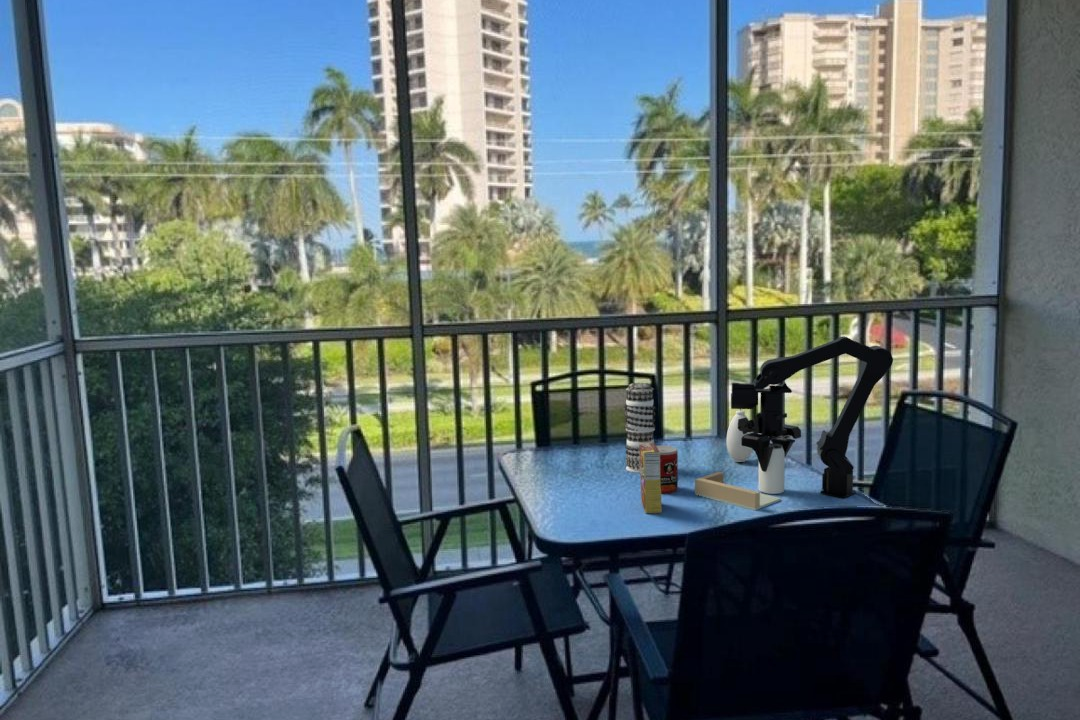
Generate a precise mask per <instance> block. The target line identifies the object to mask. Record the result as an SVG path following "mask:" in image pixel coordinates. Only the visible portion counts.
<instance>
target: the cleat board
mask: <svg viewBox="0 0 1080 720" xmlns="http://www.w3.org/2000/svg"><path fill="white" fill-rule="evenodd" d="M724 474H725V473H724V472H721V471H717V472H714V473H711V474H707V475H705V476H702V477H698V478H695V479H694V495H695V496H698V495H699V496H698V497H701V496H702V498H705V497H706V498H707V499H709V498H710V500H713V501H717V502H720V503H725V504H729V505H732V506H737V507H740V508H744V509H748V510H752V511H758V510H760V509H762V508H765V507H768V506H770V505H772V504H775V503H776V504H777V503H778V502H781V501H782V500H781V499H782V498H781V497H777V496H775V495H774V496H773V495H770V494H765V493H762V492H761V491H756V490H754V489H753V490H752V489H750V488H749V489H748V488H745V487H739V486H736V485H731V484H727V483H725V482H724V481H725V479H724Z"/></svg>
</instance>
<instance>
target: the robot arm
mask: <svg viewBox="0 0 1080 720" xmlns="http://www.w3.org/2000/svg"><path fill="white" fill-rule="evenodd" d="M843 355H848V356H851V357H853V358H855V359H857V360H859V361H860V364H859V369H858V377H857V379H856V381H855V383H854V385H853V387H852V389H851V391H850V394H849V395H848V398H847V399H846V401H845V403H844V405H843V406H842V409H841V411H840V413H839V416H838V417H837V419H836V421H835V423H834V425H833V427H832V428H830V430H829V431H826V430H825V429H823V430H822V431H821V435H820V437H819V439H818V441H816V442H815V444H816V445H817V447H816V453H817V455H818V456H819V458H820V460H821V462H822V464H823V465H824V466H827V467H824V468H823V473H822V474H821V477H822V479H821V480H822V481H821V489H822V490H820V491H819V492H820V494H824V495H827V496H832V497H835V498H840V499H845V498H847V497H850V496H852V495H855V494H857V493H856V492H857V491H856V490H853V489H854V468H855V466H854V465H853V464H852V462H851V461H850V459H849V458H848V457H847V456H846V455H847V450H848V448H849V447H848V446H849V442H850V441H849V439H850V436H851V434H852V433H851V432H852V431H853V429H854V427H855V425H856V423H857V421H858V420H859V417H860V415H861V413H862V411H863V409H864V408H865V405H866V404H867V402H868V400H869V397H870V395H871V393H872V391H873V389H874V387H875V385H876V384H877V383H878V382H880V380H881V379H883V378H884V376H885V375H886V374H887V372H888V371H889V370H890V368H891V367H892V366H893V363H894V362H893V361H894V358H893V354H892V353H891V352H890V351H889V350H888V349H885V348H884V347H882V346H879V345H872V346H868V345H867V344H866V345H865V344H863V343H861V342H858V341H855V340H852V339H851V338H849V337H847V336H839V337H838V338H836V339H834V340H832V341H828V342H827V343H824V344H821V345H819V346H816V347H813V348H810V349H807V350H804V351H802V352H800V353H797V354H795V355H789V356H783V357H777V358H771V359H768V360H765V361H764V362H763V363H762V364H761V366H760V370H759V373H758V374H757V376H756V377H755V378H754V380H753V381H752V383H748V382H747V383H746V382H743V383H742V382H731V393H730V410H739V409H741V410H754V408H755V407H756V406H759V405H760V407H759V408H760V412H757V413H756V414H755V418H753V419H750V420H749V418H748V417H747V418H748V419H747V418H742V419H738V429H739V430H740V431H742V432H743V434H746V433H747V432H749V433H750V432H753V433H750V434H746V435H744V436H743V437H742V438H741V445H742V446H746V447H749V448H752V449H753V451H754V452H755V455H756V457H757V461H758V464H759V463H760V466H761V469H762V471H764V472H766V471H767V468H768V465H769V461H770V458H771V454H772V451H773V447H771V446H769V445H770V443H771V442H772V443H775V444H780V445H782V446H783V450H784V453H785V458H786V456H787V454H788V453H789V451H790V449H791V448H792V447H793V444H794V443H795V442H796V439H800V438H802V430H801V428H800V427H799V426H796V425H791V424H784V419H786V418H788V413H786V412H784V409H785V408H784V400H785V399H784V397H785V394H791V393H792V392H793V390H792V389H791V388H790V386H789V385H787V383H786V382H785V381H786V380H787V379H790V378H791V377H793V376H794V375H796V374H797V373H798V372H800V371H801V370H802V371H803V370H805V369H808V368H811V367H813V366H815V365H818V364H821V363H824V362H826V361H829V360H832V359H835V358H837V357H840V356H843ZM781 383H782V384H781ZM779 384H780V385H779ZM768 387H769V388H768ZM759 394H760V400H759ZM759 401H760V404H759ZM791 437H792V438H793V439H792V438H791Z"/></svg>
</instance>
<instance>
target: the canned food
mask: <svg viewBox="0 0 1080 720" xmlns="http://www.w3.org/2000/svg"><path fill="white" fill-rule="evenodd" d="M656 447H657V448H658V450H659V451H660V466H661V494H673V493H674V492H676V491H677V490H678V487H679V486H678V483H679V482H678V479H679V477H678V476H679V474H678V473H679V472H678V471H679V468H678V467H679V466H678V464H679V463H678V460H679V458H678V454H679V453H678V448H677V447H675V446H672V445H661V444H660V445H656ZM672 492H673V493H672Z"/></svg>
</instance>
